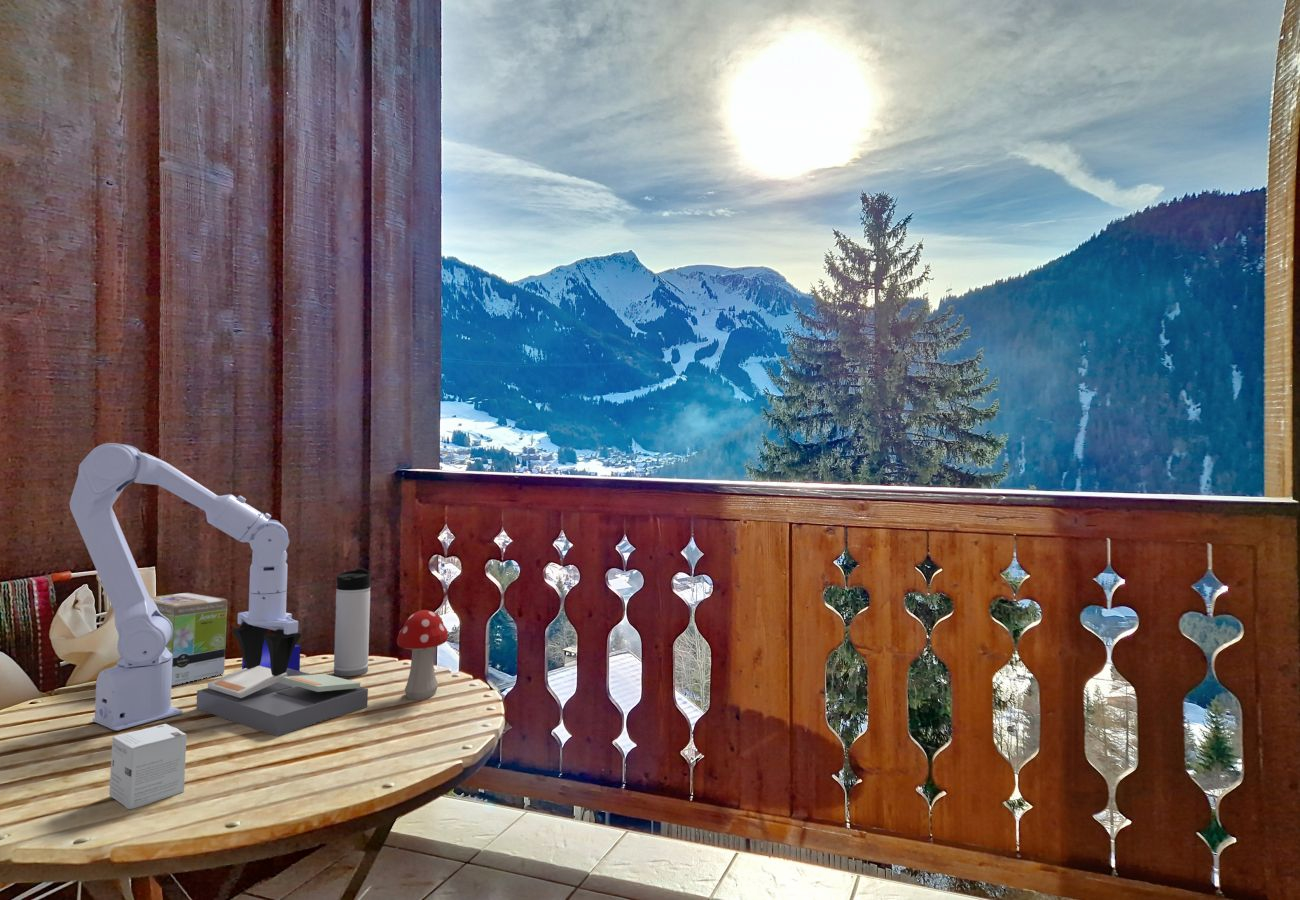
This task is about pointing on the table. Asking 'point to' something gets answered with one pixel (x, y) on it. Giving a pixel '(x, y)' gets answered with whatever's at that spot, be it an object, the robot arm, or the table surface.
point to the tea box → (195, 634)
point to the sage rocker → (320, 682)
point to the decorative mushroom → (422, 651)
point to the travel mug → (352, 623)
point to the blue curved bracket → (265, 660)
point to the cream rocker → (245, 681)
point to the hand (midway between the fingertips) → (265, 670)
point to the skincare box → (147, 765)
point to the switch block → (282, 705)
